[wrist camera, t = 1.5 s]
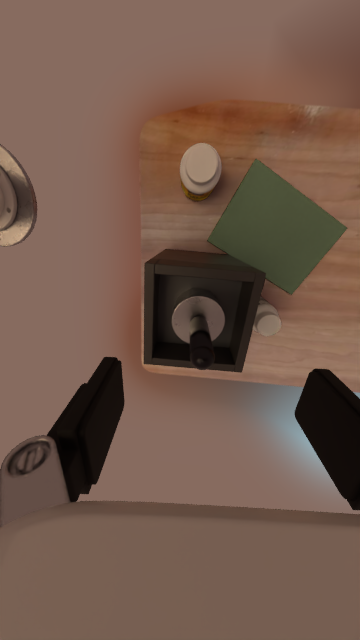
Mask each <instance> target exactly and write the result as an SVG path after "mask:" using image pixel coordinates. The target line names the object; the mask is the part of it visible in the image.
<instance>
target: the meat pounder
mask: <svg viewBox="0 0 360 640" xmlns="http://www.w3.org/2000/svg"><path fill="white" fill-rule="evenodd" d="M224 325H225V315H224V311H223V309H222V307H221V305H220V303H219V301H218V299H217V297H216V296H215V295H214V294H213V293H212V292H210V291H208V290H206V289H202V288H193V289H189V290H187V291H185V292H183V293H182V294H181V295H180V296H179V297H178V298H177V300H176V302H175V304H174V309H173V314H172V327H173V330H174V332H175V333H176V335H177V336H178V337H179V338H180V339H181V340H183V341H185V342H187V343H189V344H190V361H191V363H192V365H193V366H194V367H195V368H197V369H199V370H206V369H209V368H210V367H211V366H212V365H213V364H214V361H215V354H214V349H213V345H212V341H213V340H214V339H216V338H217V337H218V336H219V335H220V334H221V332H222V330H223V328H224Z"/></svg>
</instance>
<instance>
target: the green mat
mask: <svg viewBox="0 0 360 640" xmlns="http://www.w3.org/2000/svg"><path fill="white" fill-rule="evenodd" d="M346 229H347V227H345V226H344V225H343V224H341V223H340V222H339V221H338V220H336V219H335V218H334V217H332V216H331V215H330V214H328V213H327V212H326V211H324V210H323V209H322V208H320V207H319V206H318V205H316V204H315V203H314V202H313V201H311V200H310V199H309V198H307V197H306V196H305V195H303V194H302V193H301V192H299V191H298V190H297V189H295V188H294V187H293V186H292V185H290V184H289V183H288V182H286V181H285V180H284V179H282V178H281V177H280V176H278V175H277V174H276V173H274V172H273V171H272V170H271V169H269V168H268V167H267V166H265V165H264V164H263V163H261V162H260V161H259V160H257V159H255V161H254V162H253V164H252V166H251V167H250V169H249V171H248V172H247V174H246V176H245V178H244V179H243V181H242V183H241V184H240V186H239V188H238V189H237V191H236V193H235V194H234V196H233V198H232V200H231V201H230V203H229V205H228V206H227V208H226V210H225V211H224V213H223V215H222V216H221V218H220V220H219V222H218V223H217V225H216V227H215V228H214V230H213V232H212V233H211V235H210V237H209V238H208V240H207V241H208V242H210V243H212V244H213V245H215V246H216V247H218V248H219V249H221V250H222V251H224V252H226V253H227V254H229V255H230V256H232V257H234V258H236V259H238V260H240V261H242V262H244V263H246V264H248V265H250V266H252V267H254V268H256V269H258V270H260V271H262V272H264V273H266V277H265V278H266V279H268V280H269V281H271V282H272V283H274V284H275V285H277V286H279V287H280V288H282V289H283V290H285V291H286V292H288V293H289V294H291V295H292V294H293V292H294V291H295V290H296V289H297V288H298V286H299V285H300V284H301V283H302V282H303V281H304V279H305V278H306V277H307V276H308V275H309V273H310V272H311V271H312V270H313V269H314V267H315V266H316V265H317V264H318V263H319V262H320V260H321V259H322V258H323V257H324V256H325V254H326V253H327V252H328V251H329V250H330V248H331V247H332V246H333V245H334V244H335V242H336V241H337V240H338V239H339V238H340V237H341V235H342V234H343V233H344V232H345V231H346Z"/></svg>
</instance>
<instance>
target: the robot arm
mask: <svg viewBox="0 0 360 640" xmlns="http://www.w3.org/2000/svg"><path fill="white" fill-rule="evenodd" d="M16 213H17V198H16V194H15V190H14V188H13V186H12V183H11V181H10V180H9V178H8V176H7V175H6V174H5V172H4V171H3V170H2V169H1V167H0V230H4V229H6V228H7V227H9V226H10V225H11V224H12V223H13V221H14V219H15V217H16ZM123 408H124V392H123V379H122V368H121V361H118V359H117V358H115V357H104V358H103V360H102V361H101V363H100V365H99V366H98V367H97V369H96V371H95V372H94V373H93V375H92V377H91V378H90V380H89V381H88V383H84V384H82V385H81V386H80V388H79V389H78V390H77V392H76V393H75V395H74V396H73V398H72V399H71V401H70V402H69V404H68V405H67V407H66V408H65V410H64V411H63V412H62V414H61V415H60V417H59V418H58V420H57V421H56V422H55V424H54V425H53V427H52V428H51V430H50V431H49V433H48V434H47V436H45V435H41V436H35V437H32V438H29V439H27V440H25V441H23V442H22V443H20V444H19V445H17V446H16V447H15V448H14V449H12V450H11V452H10V453H9V454H8V455H7V456H6V457H5V459H4V461H3V463H2V466H1V469H0V640H360V514H344V513H328V512H314V511H296V510H281V509H264V508H247V507H230V506H211V505H192V504H174V503H154V502H127V501H126V502H125V501H80V502H76V501H77V500H78V497H79V495H80V494H89V491H90V489H91V485H92V484H96V483H97V481H98V479H99V476H100V473H101V470H102V467H103V465H104V462H105V459H106V456H107V453H108V451H109V448H110V445H111V442H112V439H113V437H114V433H115V431H116V428H117V425H118V422H119V420H120V417H121V414H122V411H123ZM295 417H296V420H297V422H298V423H299V425H300V427H301V428H302V430H303V431H304V433H305V435H306V437H307V438H308V440H309V442H310V443H311V445H312V447H313V448H314V450H315V452H316V453H317V455H318V457H319V459H320V460H321V462H322V464H323V465H324V467H325V469H326V470H327V472H328V474H329V475H330V477H331V479H332V480H333V482H334V484H335V486H336V487H337V489H338V491H339V492H340V494H341V495H342V496H343V497H344V498H345V499H347V501H348V502H349V504H350V506H351V507H352V509H353V510H360V399H359V398H358V397H357V396H356V395H355V394H354V393H353V392H352V391H351V390H350V389H349V388H348V387H347V386H346V385H345V384H344V383H343V382H342V381H341V380H339V379H338V378H337V377H336V376H335V375H334V374H333V373H332V372H331V371H330V370H327V369H314V370H313V371H312V372H310V373H309V375H308V378H307V380H306V383H305V386H304V389H303V391H302V394H301V396H300V399H299V402H298V404H297V407H296V410H295Z"/></svg>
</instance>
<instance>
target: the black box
mask: <svg viewBox="0 0 360 640" xmlns="http://www.w3.org/2000/svg"><path fill="white" fill-rule="evenodd" d="M265 277H266V273H264V272H262V271H260V270H258V269H256V268H254V267H252V266H250V265H248V264H246V263H244V262H242V261H240V260H238V259H236V258H234V257H232V256H230V255H228V254H218V253H206V252H194V251H183V250H171V249H165V250H164V251H162V252H161V253H159V254H158V255H156V256H155V257H153V258H152V259H150V260H149V261H147V262H146V263H145V285H144V364H152V365H163V366H174V367H186V368H195V367H194V366H193V365H192V363H191V361H190V344H189V343H187V342H185V341H183V340H181V339H180V338H179V337H178V336H177V335H176V333H175V332H174V330H173V327H172V314H173V309H174V304H175V302H176V300H177V298H178V297H179V296H180V295H181V294H182V293H183V292H185V291H187V290H189V289H193V288H202V289H206V290H208V291H210V292H212V293H213V294H214V295H215V296H216V297H217V299H218V301H219V303H220V305H221V307H222V309H223V311H224V315H225V325H224V328H223V330H222V332H221V334H220V335H219V336H218V337H217V338H216V339H214V340H213V341H212V345H213V349H214V354H215V361H214V364H213V365H212V366H211V367H210V368H209V370H220V371H231V372H233V371H234V372H242V370H243V366H244V362H245V358H246V353H247V349H248V345H249V341H250V337H251V333H252V329H253V325H254V321H255V317H256V313H257V309H258V305H259V301H260V297H261V293H262V289H263V285H264V281H265Z"/></svg>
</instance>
